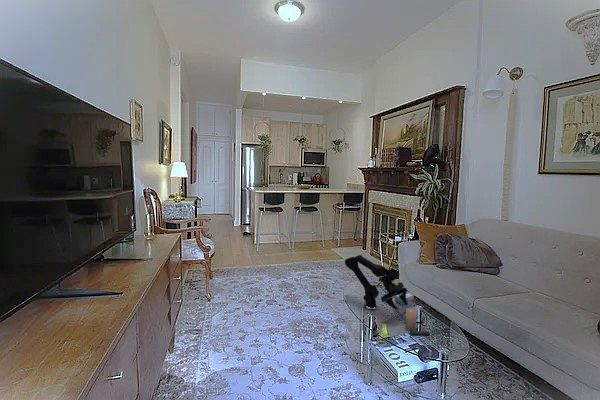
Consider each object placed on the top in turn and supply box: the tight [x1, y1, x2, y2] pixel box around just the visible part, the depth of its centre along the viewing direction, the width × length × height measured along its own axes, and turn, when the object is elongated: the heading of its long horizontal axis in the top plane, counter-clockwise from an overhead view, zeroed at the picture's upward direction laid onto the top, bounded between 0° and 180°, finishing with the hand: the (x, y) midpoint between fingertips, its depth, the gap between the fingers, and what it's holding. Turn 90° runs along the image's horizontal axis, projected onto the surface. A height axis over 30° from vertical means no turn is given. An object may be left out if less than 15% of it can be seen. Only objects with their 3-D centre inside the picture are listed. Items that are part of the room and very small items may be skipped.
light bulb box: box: [394, 291, 415, 315], centre depth 219 cm, size 11×7×11 cm, turn 118°
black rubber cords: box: [404, 318, 430, 336], centre depth 198 cm, size 11×15×2 cm
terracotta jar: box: [405, 307, 417, 332], centre depth 198 cm, size 6×6×12 cm
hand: (401, 307), depth 203 cm, fingers open, 9 cm apart
